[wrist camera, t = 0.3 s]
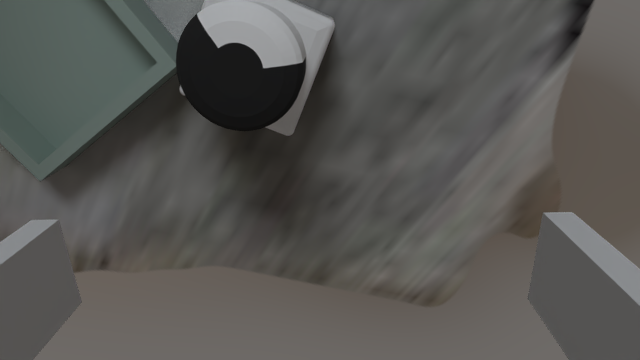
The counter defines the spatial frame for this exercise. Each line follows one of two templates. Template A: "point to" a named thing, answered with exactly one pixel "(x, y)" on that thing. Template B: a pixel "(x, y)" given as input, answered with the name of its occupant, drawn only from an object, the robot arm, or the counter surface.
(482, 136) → the counter surface
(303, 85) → the container
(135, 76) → the box
